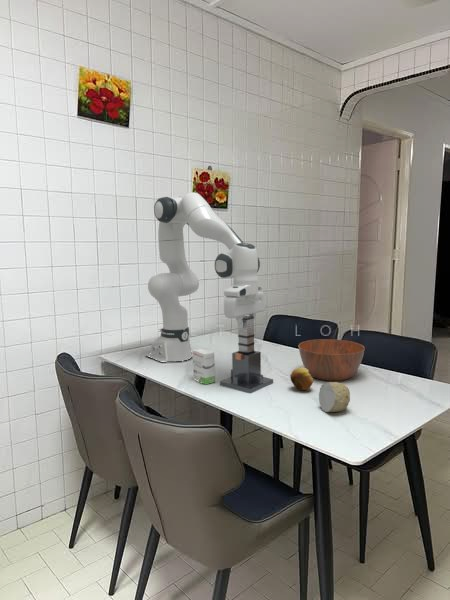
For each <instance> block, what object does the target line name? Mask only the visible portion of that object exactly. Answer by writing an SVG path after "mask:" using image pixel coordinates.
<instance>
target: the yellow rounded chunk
mask: <svg viewBox="0 0 450 600" xmlns="http://www.w3.org/2000/svg"><path fill="white" fill-rule="evenodd" d="M350 395H351V393H350V389H349V388H348V386H346V385H345V384H344V383H341V382H339V381H329V382H328V381H327V382H324V383H322V385H320V387H319V393H318V400H319V405H320V408H321V410H322V412H325V413H335V412H336V413H337V412H342V411H344V410H346V409H347V408H348V406H349V403H350V402H351V396H350Z"/></svg>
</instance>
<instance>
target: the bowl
mask: <svg viewBox="0 0 450 600" xmlns="http://www.w3.org/2000/svg"><path fill="white" fill-rule="evenodd" d="M297 346H298V350H299V355H300V358H301V362H302V364H303V366H304V367H303V368H306V369H308V371H309V374H310V375H311V377H312V378H316V379H318V380H322V381H327V382H328V381H329V382H340V381H345V380H348V379H351V378H353V376H355V375H356V374H357V372H358V370H359V368H360V367H361V364H362V360H363V357H364V354H365V350H366V349H365V346H364V345H363V344H360V343H358V342H355V341H349V340H345V339H335V338H334V339H332V338H331V339H330V338H329V339H328V338H326V339H325V338H324V339H323V338H319V339H309V340H306V341H305V340H304V341H302V342H299V344H298V345H297Z"/></svg>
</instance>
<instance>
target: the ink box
mask: <svg viewBox="0 0 450 600" xmlns="http://www.w3.org/2000/svg"><path fill="white" fill-rule="evenodd" d="M215 362H216V360H215V352H213V351H210V350H207V349H206V348H197V349H192V374H193V375H192V376H193V378H194V379H196V380H198V381H199V382H198V381H197V382H198V383H200V382H202V383H204V384H207V385H210V384H209V383H211V384H214V383H213V382H215V383H216V368H215V367H216V366H215V365H216V363H215ZM202 383H201V384H202ZM204 384H203V385H204Z"/></svg>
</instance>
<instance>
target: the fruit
mask: <svg viewBox="0 0 450 600" xmlns="http://www.w3.org/2000/svg"><path fill="white" fill-rule="evenodd" d="M289 378H290V381H291V383H292V385H293V386H294V387H295V388H296V389H298V390H299V391H300V392H301V391H302V392H304V391H307V390H309V389H310V388H311V387H312V385H313V382H314V377H313V376H311V375H310V374H309V371H308V369H306V368H305V367H303V366H301V367H297V368H295V369H294V370H293V371H292V372H291V374H290V377H289Z"/></svg>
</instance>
